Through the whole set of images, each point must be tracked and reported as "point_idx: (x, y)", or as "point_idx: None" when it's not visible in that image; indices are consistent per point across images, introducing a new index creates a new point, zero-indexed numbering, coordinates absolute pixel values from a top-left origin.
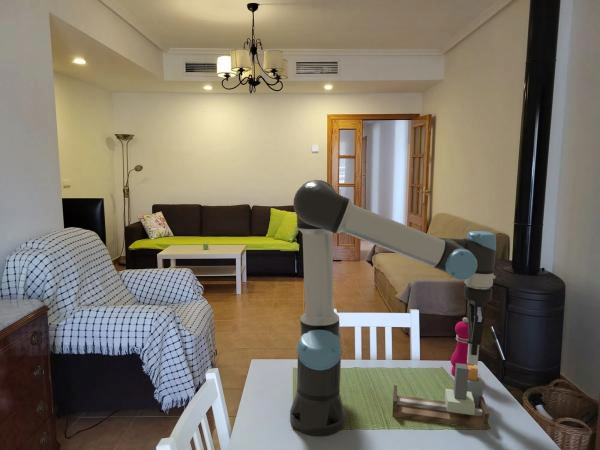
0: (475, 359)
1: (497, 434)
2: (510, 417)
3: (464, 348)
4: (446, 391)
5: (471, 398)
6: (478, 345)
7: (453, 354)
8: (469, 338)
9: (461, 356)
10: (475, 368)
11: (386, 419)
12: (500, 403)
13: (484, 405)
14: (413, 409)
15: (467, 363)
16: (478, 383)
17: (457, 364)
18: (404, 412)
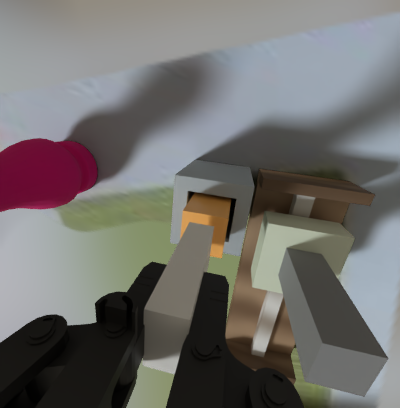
0: (208, 252)
1: (373, 162)
2: (288, 93)
3: (7, 191)
4: (268, 289)
5: (312, 235)
6: (191, 311)
7: (31, 208)
8: (132, 389)
9: (43, 193)
10: (208, 222)
11: (298, 360)
12: (211, 99)
13: (320, 192)
14: (281, 326)
15: (63, 169)
16: (250, 203)
17: (323, 381)
18: (294, 344)
